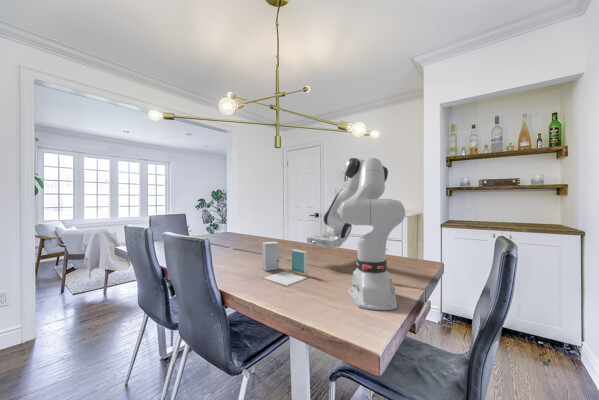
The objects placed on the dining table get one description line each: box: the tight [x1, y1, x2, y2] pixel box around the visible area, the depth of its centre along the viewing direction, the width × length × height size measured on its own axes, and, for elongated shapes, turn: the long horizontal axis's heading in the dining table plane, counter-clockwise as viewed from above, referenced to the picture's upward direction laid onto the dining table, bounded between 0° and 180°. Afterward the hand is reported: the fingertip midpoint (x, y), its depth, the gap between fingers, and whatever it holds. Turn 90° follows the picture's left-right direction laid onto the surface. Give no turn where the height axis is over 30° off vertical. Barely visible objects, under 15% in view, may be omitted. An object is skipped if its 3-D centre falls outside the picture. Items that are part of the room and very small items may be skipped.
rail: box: [285, 268, 309, 278], centre depth 128 cm, size 2×14×2 cm, turn 47°
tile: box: [291, 248, 308, 274], centre depth 130 cm, size 2×9×12 cm, turn 47°
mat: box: [263, 270, 308, 287], centre depth 122 cm, size 14×16×1 cm
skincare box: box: [261, 241, 280, 272], centre depth 139 cm, size 8×6×15 cm
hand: (314, 243), depth 139 cm, fingers closed
